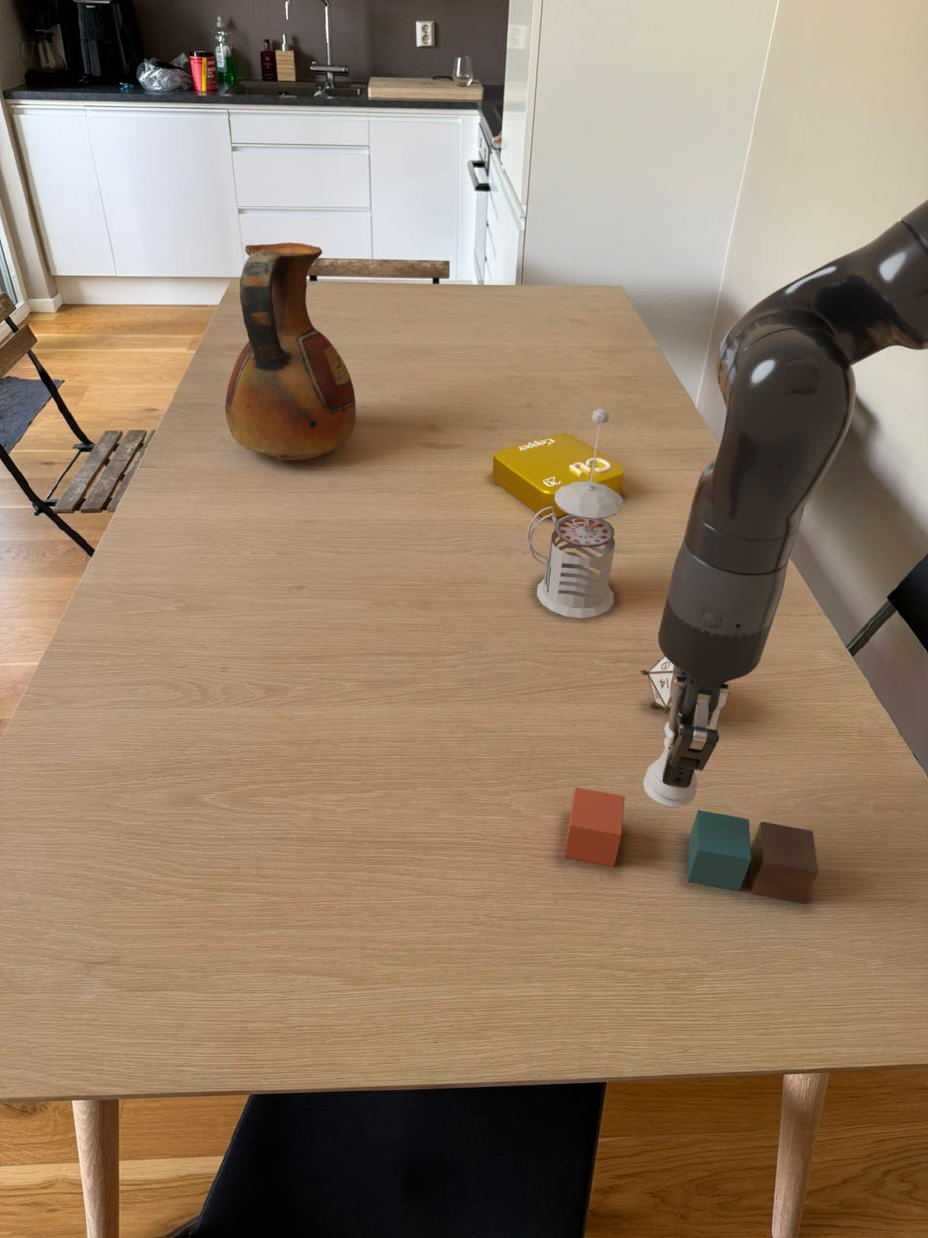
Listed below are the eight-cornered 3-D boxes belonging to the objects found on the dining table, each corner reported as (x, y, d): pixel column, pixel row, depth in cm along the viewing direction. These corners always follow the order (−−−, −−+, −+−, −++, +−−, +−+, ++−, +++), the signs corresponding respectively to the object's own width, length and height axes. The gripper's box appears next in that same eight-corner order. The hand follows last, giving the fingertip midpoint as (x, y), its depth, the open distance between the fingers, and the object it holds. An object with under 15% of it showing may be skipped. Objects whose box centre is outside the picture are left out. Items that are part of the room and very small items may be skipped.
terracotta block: (617, 828, 83) (624, 796, 80) (614, 867, 80) (621, 835, 77) (569, 819, 84) (575, 786, 81) (564, 857, 80) (569, 825, 77)
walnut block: (799, 862, 81) (813, 830, 78) (803, 904, 77) (818, 872, 75) (748, 852, 81) (760, 821, 79) (750, 893, 78) (763, 862, 75)
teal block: (737, 850, 82) (749, 818, 79) (739, 891, 78) (751, 859, 75) (688, 841, 82) (697, 809, 79) (687, 881, 79) (697, 849, 76)
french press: (621, 617, 109) (656, 429, 93) (527, 618, 108) (547, 429, 92) (606, 571, 116) (636, 391, 101) (518, 572, 116) (534, 390, 100)
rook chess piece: (683, 768, 78) (703, 701, 73) (703, 808, 74) (724, 741, 69) (635, 773, 77) (651, 706, 72) (652, 813, 74) (670, 746, 69)
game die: (671, 746, 97) (659, 725, 88) (635, 680, 101) (620, 653, 92) (746, 709, 96) (742, 684, 87) (707, 643, 99) (699, 613, 91)
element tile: (563, 454, 142) (567, 427, 139) (626, 496, 132) (631, 467, 129) (486, 477, 135) (488, 448, 132) (546, 522, 126) (549, 492, 123)
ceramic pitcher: (371, 424, 148) (366, 234, 130) (336, 482, 132) (325, 275, 114) (258, 411, 150) (238, 222, 132) (211, 466, 134) (180, 261, 116)
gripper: (783, 671, 57) (723, 841, 68) (769, 553, 68) (720, 716, 79) (665, 652, 58) (624, 823, 69) (670, 539, 69) (635, 701, 80)
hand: (675, 765), depth 74 cm, fingers closed on rook chess piece, 3 cm apart
